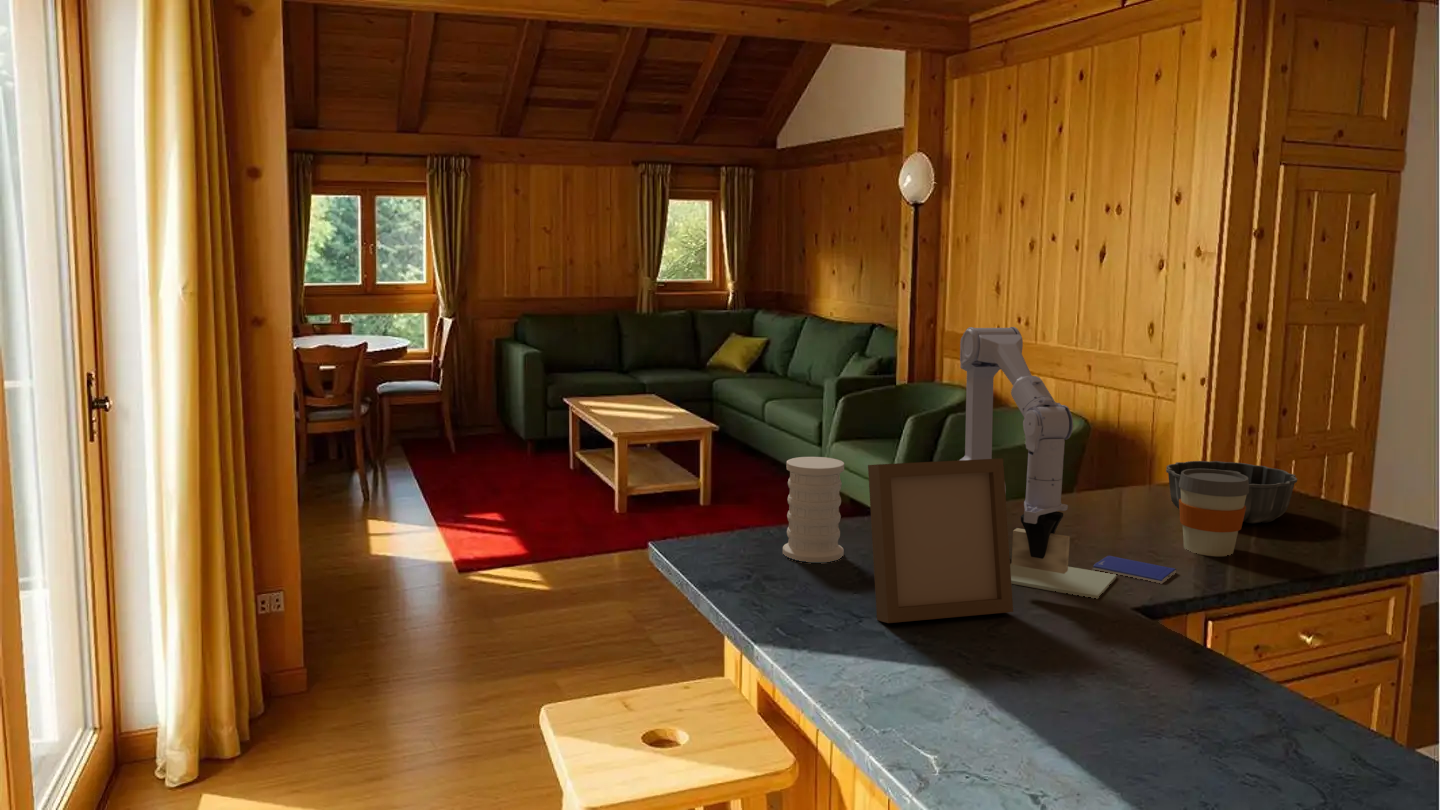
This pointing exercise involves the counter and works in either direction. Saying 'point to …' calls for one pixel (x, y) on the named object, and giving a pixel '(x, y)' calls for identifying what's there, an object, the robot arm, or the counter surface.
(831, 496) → the decorative container
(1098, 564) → the hard drive
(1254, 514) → the bundt pan
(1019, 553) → the oak tile
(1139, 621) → the counter surface
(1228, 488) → the reusable coffee cup
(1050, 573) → the mat
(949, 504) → the photo frame
